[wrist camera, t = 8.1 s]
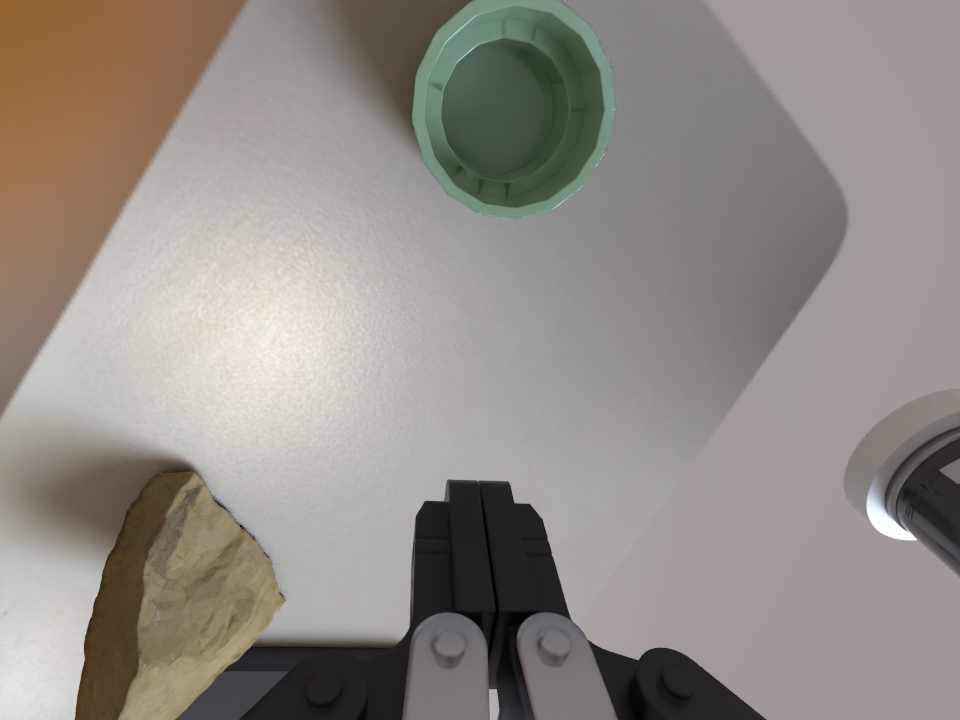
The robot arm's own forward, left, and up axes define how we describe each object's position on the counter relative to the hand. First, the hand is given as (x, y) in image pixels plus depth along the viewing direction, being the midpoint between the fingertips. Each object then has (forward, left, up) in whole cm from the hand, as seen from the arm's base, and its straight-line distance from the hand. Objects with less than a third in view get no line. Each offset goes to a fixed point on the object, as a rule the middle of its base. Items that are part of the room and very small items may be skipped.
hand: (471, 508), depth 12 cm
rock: (+11, +15, -13) cm, 23 cm away
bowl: (-1, -9, -13) cm, 16 cm away
